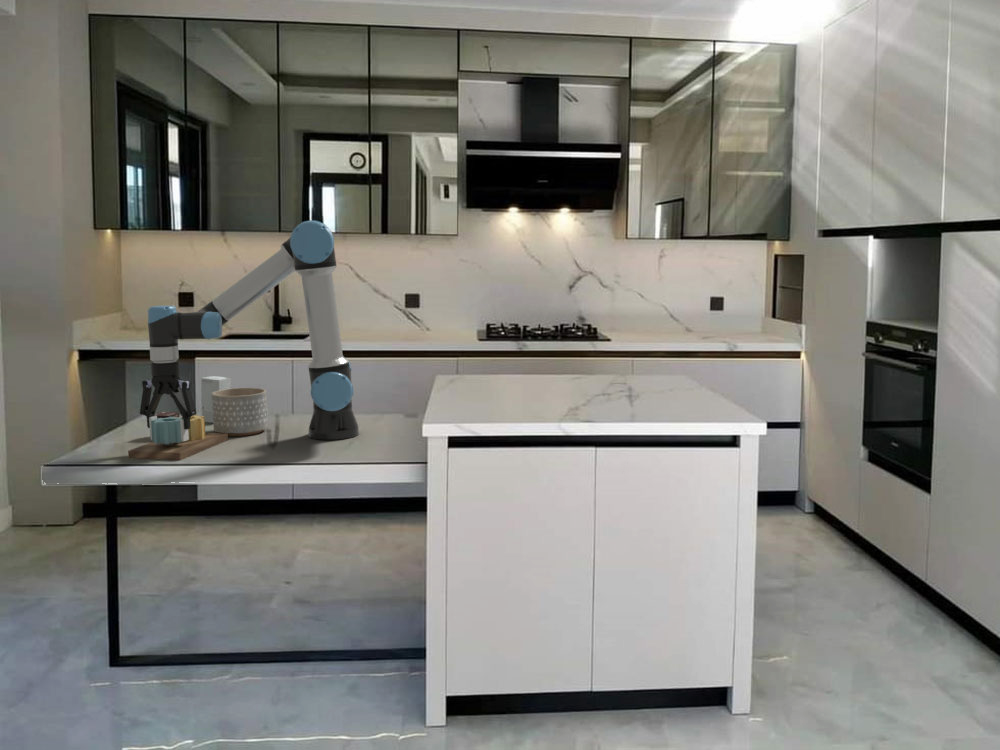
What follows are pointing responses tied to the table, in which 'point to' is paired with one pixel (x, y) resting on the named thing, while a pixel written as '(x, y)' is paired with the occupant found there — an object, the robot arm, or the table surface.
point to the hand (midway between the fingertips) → (169, 439)
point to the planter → (240, 411)
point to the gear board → (177, 448)
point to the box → (167, 414)
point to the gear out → (196, 428)
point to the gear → (166, 430)
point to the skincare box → (207, 389)
